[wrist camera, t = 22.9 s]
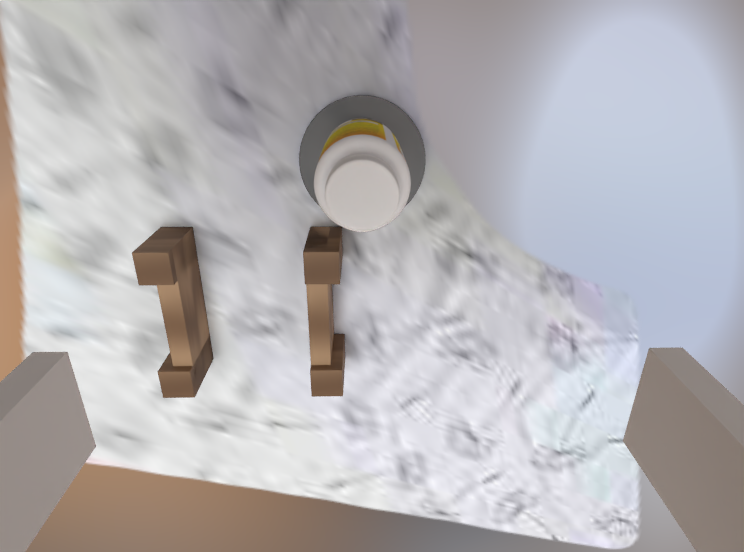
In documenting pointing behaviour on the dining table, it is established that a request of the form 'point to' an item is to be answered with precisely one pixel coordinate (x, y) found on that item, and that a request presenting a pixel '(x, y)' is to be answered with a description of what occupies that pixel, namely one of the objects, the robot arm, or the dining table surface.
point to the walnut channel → (189, 320)
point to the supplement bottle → (362, 176)
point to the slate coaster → (370, 110)
